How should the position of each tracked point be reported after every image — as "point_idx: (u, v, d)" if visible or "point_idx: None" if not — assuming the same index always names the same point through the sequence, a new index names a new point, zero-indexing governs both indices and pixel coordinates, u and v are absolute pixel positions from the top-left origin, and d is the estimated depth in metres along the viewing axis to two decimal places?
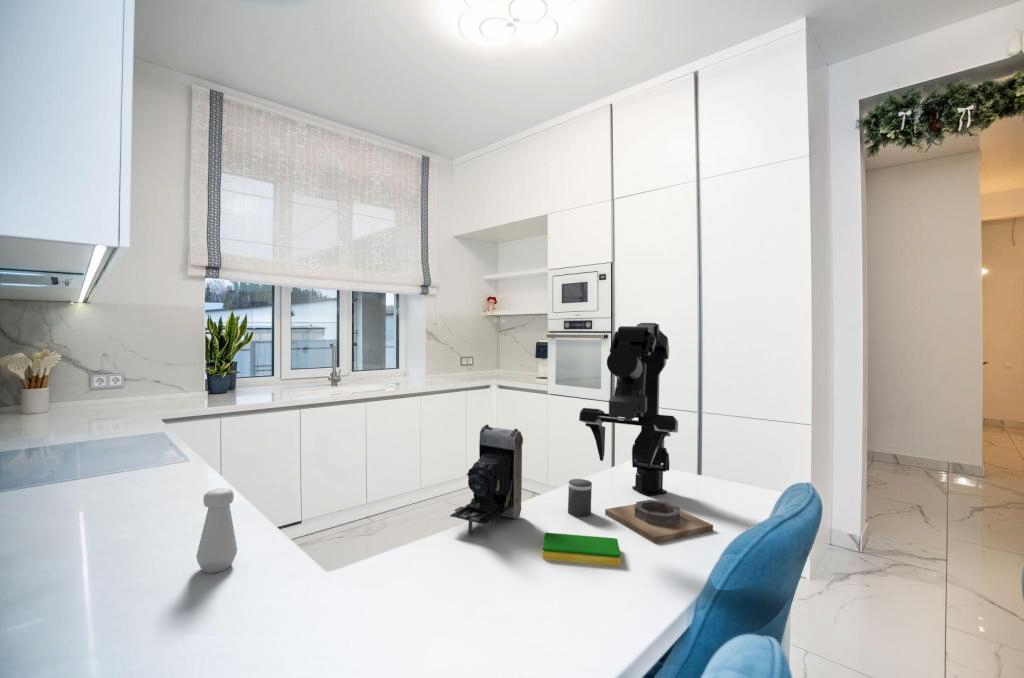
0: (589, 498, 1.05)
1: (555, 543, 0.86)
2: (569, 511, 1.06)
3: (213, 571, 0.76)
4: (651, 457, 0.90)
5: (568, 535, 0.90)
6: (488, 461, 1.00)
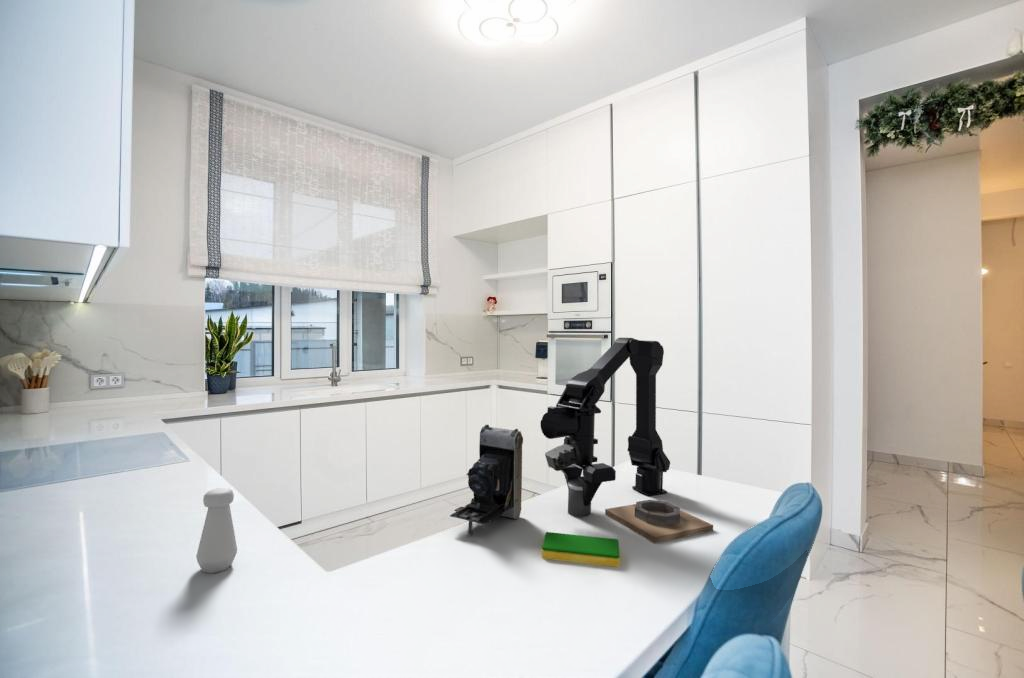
0: None
1: (554, 543, 0.87)
2: (569, 511, 1.06)
3: (213, 571, 0.76)
4: (584, 498, 1.04)
5: (569, 535, 0.90)
6: (488, 461, 1.00)
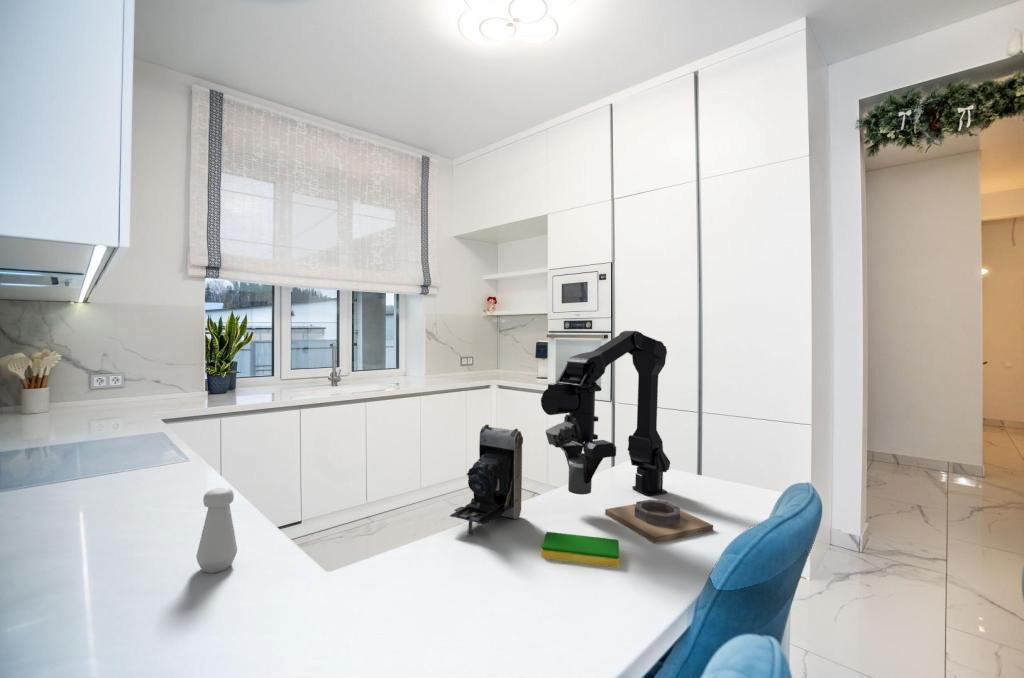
0: None
1: (554, 543, 0.87)
2: (569, 489, 1.06)
3: (213, 571, 0.76)
4: (585, 475, 1.04)
5: (569, 535, 0.90)
6: (488, 461, 1.00)
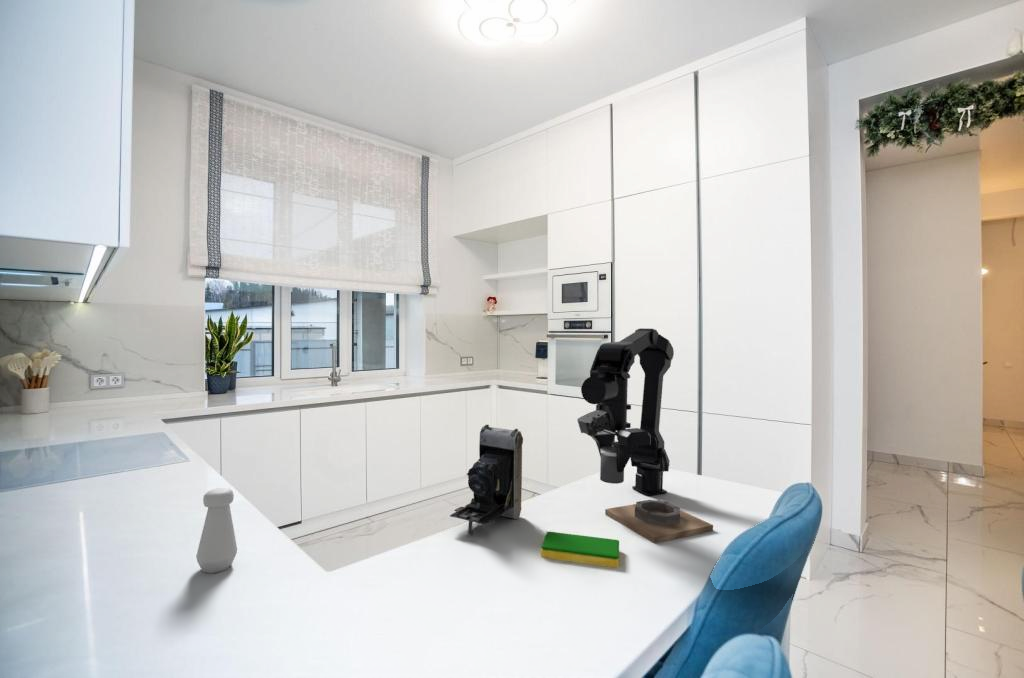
0: None
1: (554, 542, 0.87)
2: (602, 478, 1.04)
3: (213, 571, 0.76)
4: (618, 464, 1.02)
5: (569, 535, 0.90)
6: (488, 461, 1.00)
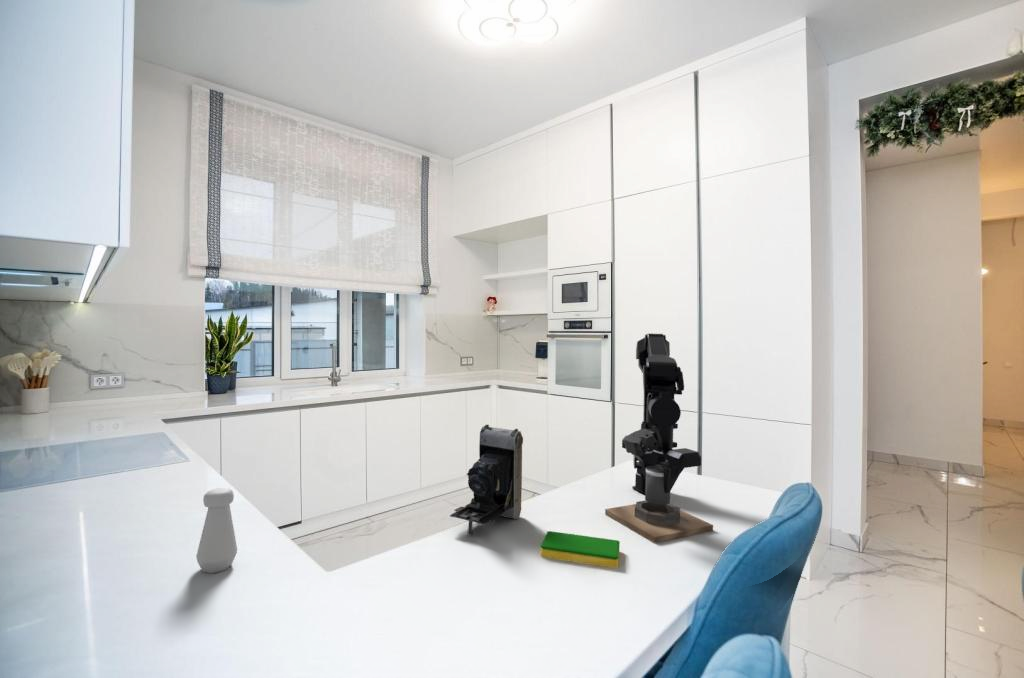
0: None
1: (554, 542, 0.87)
2: (647, 498, 1.02)
3: (213, 571, 0.76)
4: (666, 485, 0.99)
5: (570, 535, 0.90)
6: (488, 461, 1.00)
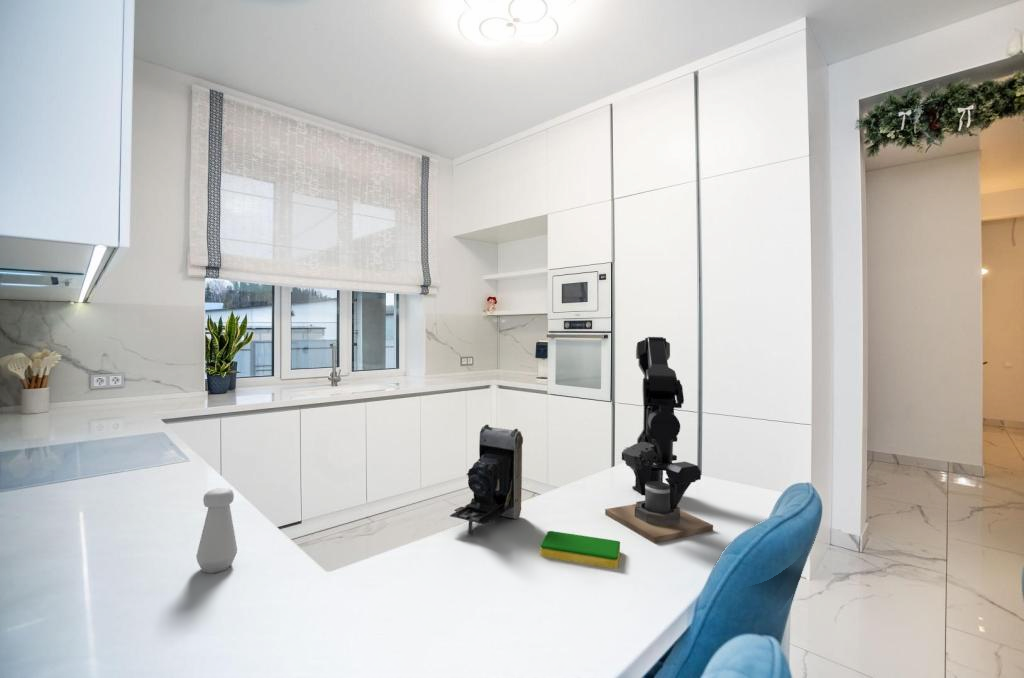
0: (668, 501, 1.01)
1: (554, 542, 0.87)
2: None
3: (213, 571, 0.76)
4: (672, 501, 0.98)
5: (570, 535, 0.90)
6: (488, 461, 1.00)
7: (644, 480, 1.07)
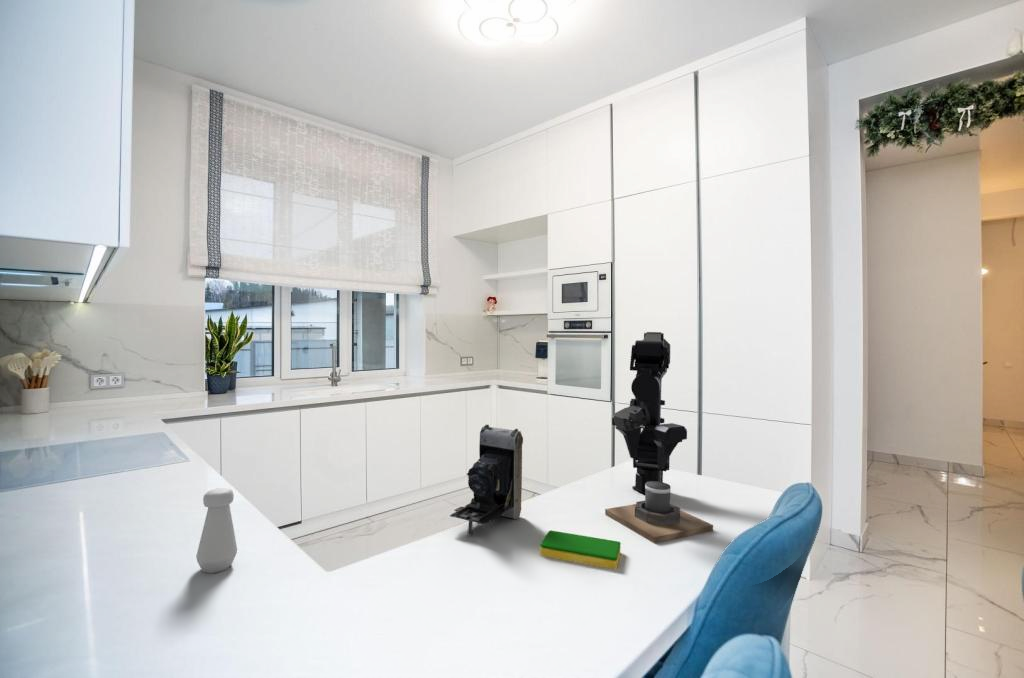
0: (668, 501, 1.01)
1: (554, 541, 0.87)
2: None
3: (213, 571, 0.76)
4: (659, 461, 1.02)
5: (571, 534, 0.90)
6: (488, 461, 1.00)
7: (633, 444, 1.12)
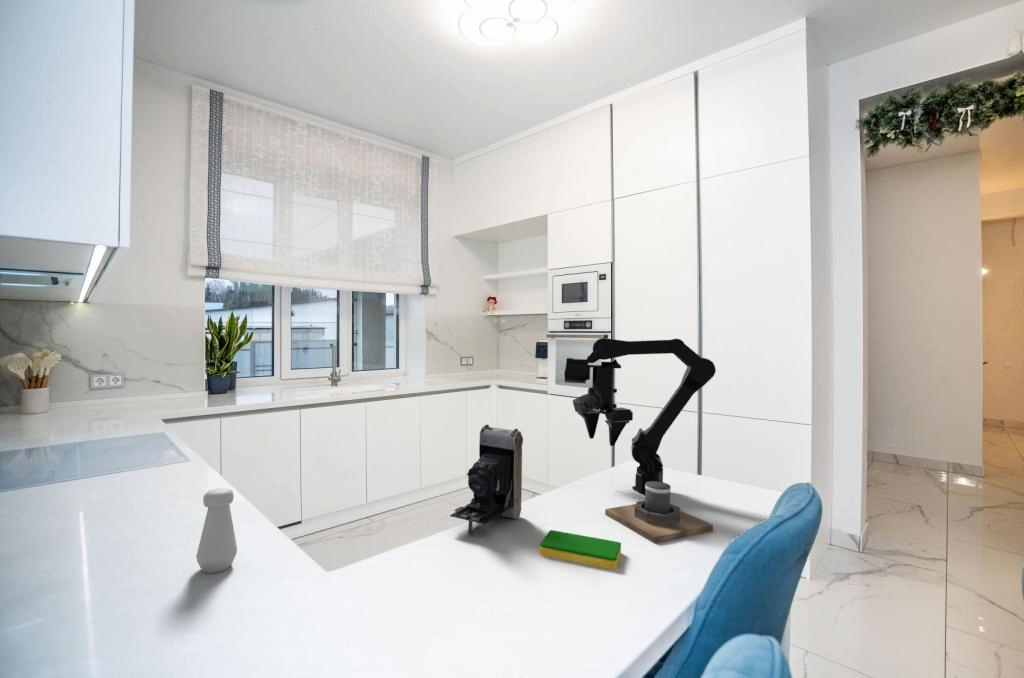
0: (668, 501, 1.01)
1: (554, 541, 0.87)
2: None
3: (213, 571, 0.76)
4: (610, 439, 1.21)
5: (572, 534, 0.90)
6: (488, 461, 1.00)
7: (592, 426, 1.31)
